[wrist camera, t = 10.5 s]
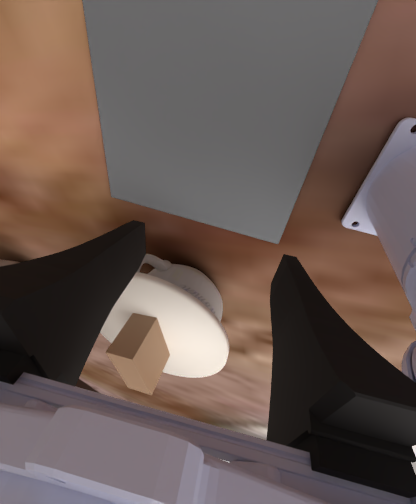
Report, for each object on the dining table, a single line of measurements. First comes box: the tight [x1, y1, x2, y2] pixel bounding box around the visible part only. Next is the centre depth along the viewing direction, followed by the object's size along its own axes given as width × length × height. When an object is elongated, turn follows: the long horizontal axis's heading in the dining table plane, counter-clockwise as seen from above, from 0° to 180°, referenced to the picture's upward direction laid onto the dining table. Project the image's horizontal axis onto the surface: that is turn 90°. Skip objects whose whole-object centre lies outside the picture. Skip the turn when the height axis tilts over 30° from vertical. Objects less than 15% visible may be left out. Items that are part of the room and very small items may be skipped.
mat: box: [82, 0, 378, 244], centre depth 18 cm, size 18×17×1 cm
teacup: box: [137, 254, 223, 321], centre depth 26 cm, size 14×11×8 cm
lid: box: [100, 272, 229, 395], centre depth 22 cm, size 15×15×5 cm
